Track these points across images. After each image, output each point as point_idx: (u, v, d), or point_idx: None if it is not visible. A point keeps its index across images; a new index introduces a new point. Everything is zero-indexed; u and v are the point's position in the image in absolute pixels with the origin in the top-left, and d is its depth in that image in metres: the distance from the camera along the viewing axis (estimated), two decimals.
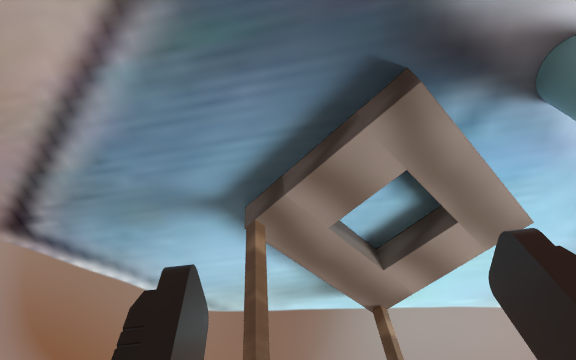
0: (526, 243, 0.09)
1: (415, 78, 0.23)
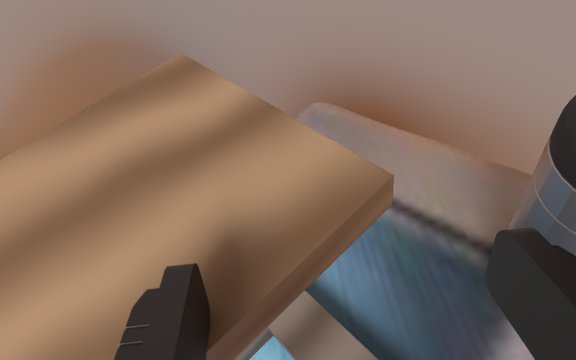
0: (523, 242, 0.09)
1: None
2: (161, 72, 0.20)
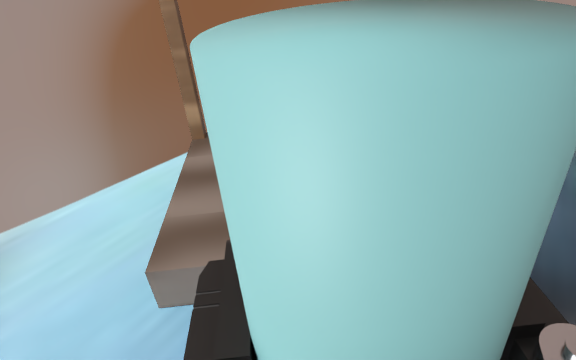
0: None
1: None
2: None
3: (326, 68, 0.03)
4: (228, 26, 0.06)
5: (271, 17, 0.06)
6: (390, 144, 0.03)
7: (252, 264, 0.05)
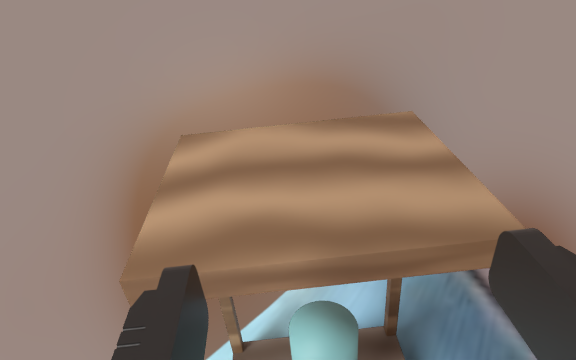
0: (526, 243, 0.09)
1: None
2: (392, 117, 0.27)
3: (313, 354, 0.25)
4: (293, 321, 0.28)
5: (301, 315, 0.28)
6: None
7: None
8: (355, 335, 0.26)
